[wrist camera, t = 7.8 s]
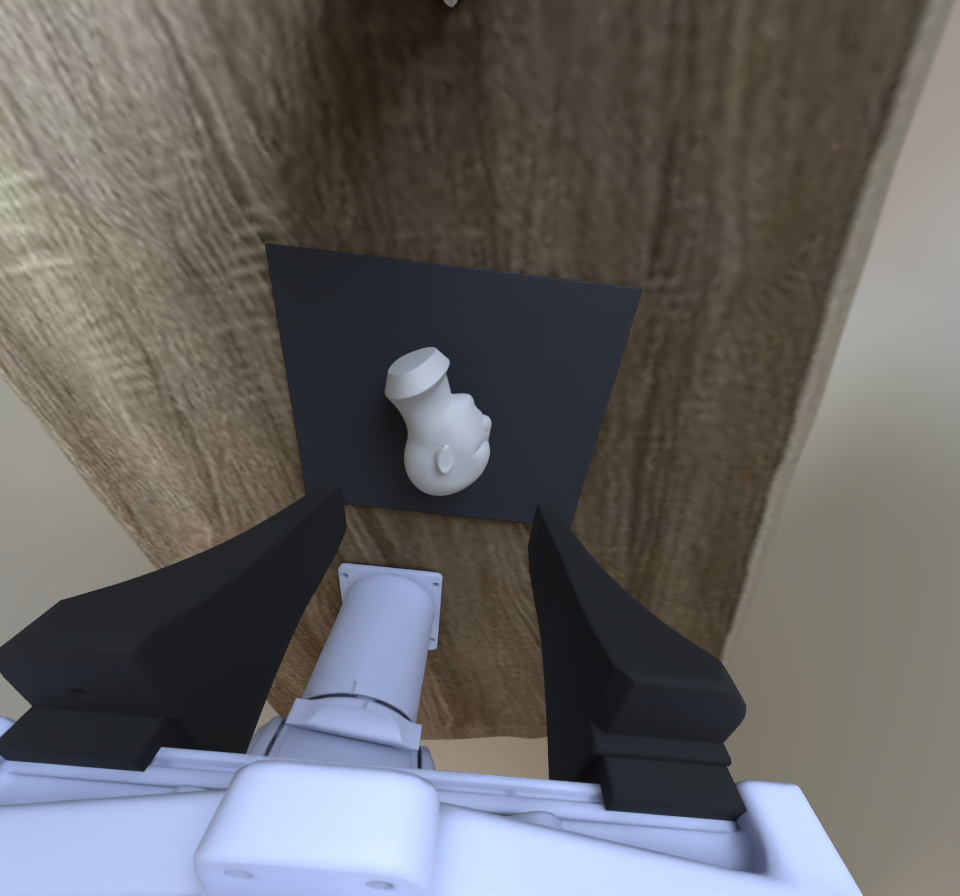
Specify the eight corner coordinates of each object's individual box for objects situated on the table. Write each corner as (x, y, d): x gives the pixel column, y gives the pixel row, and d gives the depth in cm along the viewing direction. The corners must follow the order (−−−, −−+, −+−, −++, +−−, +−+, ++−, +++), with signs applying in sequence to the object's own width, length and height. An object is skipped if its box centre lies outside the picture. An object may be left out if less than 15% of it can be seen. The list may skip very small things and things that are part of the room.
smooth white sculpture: (487, 458, 22) (410, 479, 22) (468, 332, 19) (373, 351, 18) (510, 494, 19) (418, 521, 18) (492, 347, 15) (374, 372, 14)
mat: (568, 522, 24) (570, 528, 24) (310, 495, 24) (306, 500, 23) (638, 288, 17) (643, 288, 16) (271, 243, 17) (264, 243, 16)
